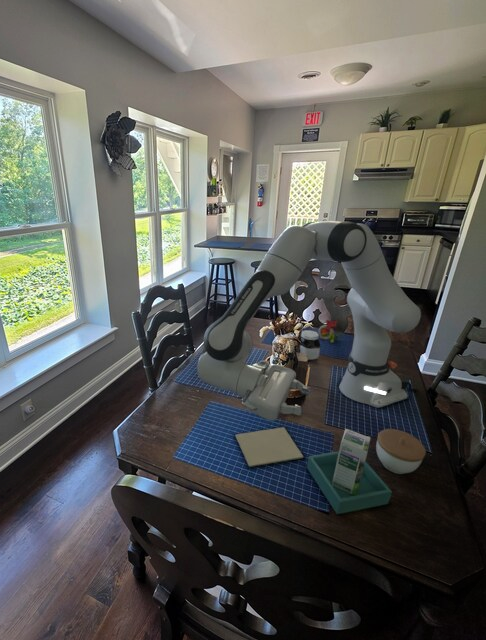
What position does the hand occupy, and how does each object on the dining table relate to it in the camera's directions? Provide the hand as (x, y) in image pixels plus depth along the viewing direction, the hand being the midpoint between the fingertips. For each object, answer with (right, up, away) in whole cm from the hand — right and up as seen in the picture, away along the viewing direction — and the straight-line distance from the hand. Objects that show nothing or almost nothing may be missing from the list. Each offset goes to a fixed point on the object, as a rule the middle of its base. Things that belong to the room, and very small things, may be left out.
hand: (305, 401), depth 80 cm
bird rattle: (+39, +10, +76) cm, 86 cm away
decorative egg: (-21, +1, +57) cm, 60 cm away
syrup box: (+11, -21, +2) cm, 24 cm away
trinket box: (+27, -19, +8) cm, 34 cm away
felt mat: (-6, -17, +14) cm, 23 cm away
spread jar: (+21, +4, +62) cm, 65 cm away
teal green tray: (+11, -22, +2) cm, 24 cm away
